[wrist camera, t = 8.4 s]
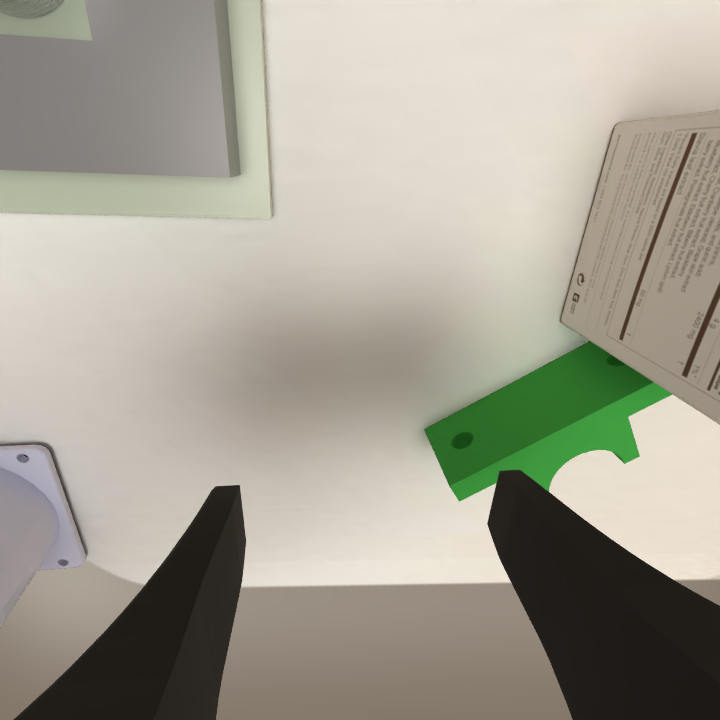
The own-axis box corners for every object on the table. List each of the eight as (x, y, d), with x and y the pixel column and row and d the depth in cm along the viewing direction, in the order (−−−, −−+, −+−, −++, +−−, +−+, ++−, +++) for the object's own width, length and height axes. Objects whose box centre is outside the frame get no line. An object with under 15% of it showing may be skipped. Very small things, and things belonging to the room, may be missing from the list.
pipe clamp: (450, 471, 24) (479, 535, 20) (422, 426, 23) (448, 486, 19) (633, 378, 23) (704, 427, 19) (618, 324, 21) (692, 364, 17)
